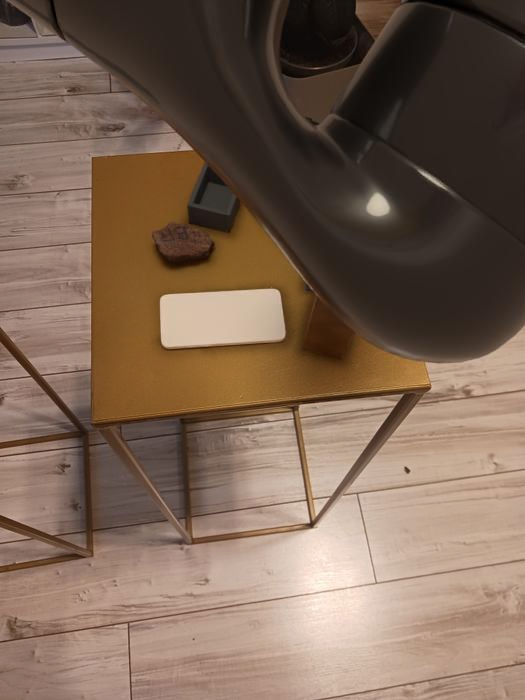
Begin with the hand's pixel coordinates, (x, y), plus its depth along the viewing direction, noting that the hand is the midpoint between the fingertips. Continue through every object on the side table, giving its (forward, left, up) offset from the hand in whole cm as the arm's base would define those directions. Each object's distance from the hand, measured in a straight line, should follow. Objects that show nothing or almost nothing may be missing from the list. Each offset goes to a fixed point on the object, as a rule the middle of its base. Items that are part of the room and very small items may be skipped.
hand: (380, 161), depth 45 cm
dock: (-18, +12, -26) cm, 34 cm away
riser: (0, -2, -26) cm, 26 cm away
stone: (-20, +4, -26) cm, 33 cm away
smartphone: (-13, -5, -26) cm, 29 cm away
